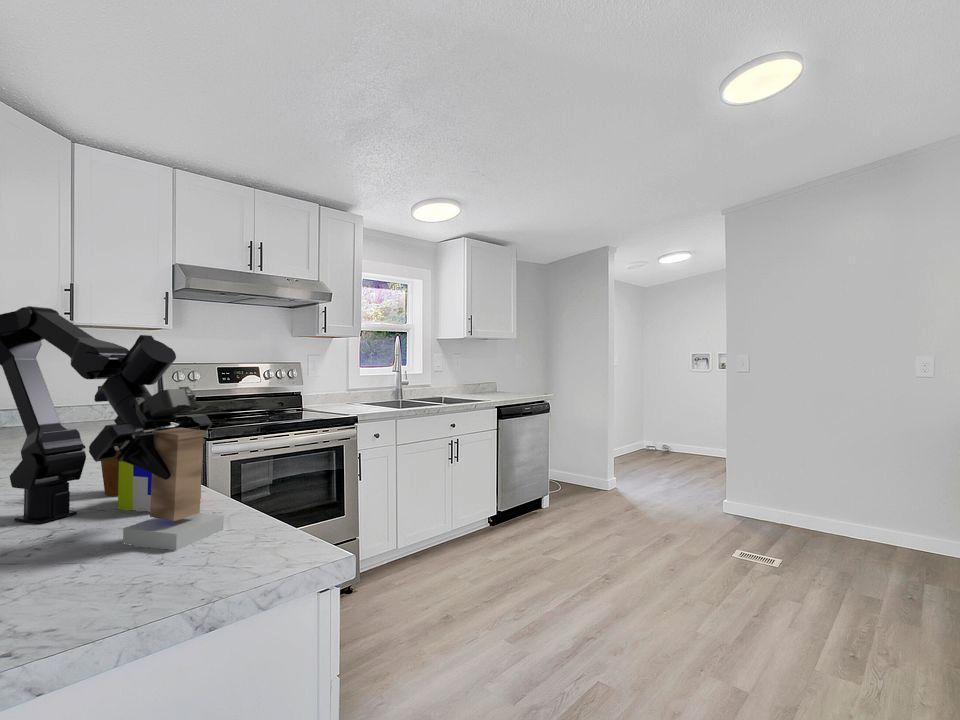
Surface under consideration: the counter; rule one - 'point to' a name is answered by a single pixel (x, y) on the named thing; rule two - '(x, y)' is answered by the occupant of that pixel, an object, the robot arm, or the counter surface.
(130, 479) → the puzzle toy
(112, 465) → the disposable coffee cup
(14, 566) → the counter surface
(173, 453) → the walnut canister
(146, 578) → the counter surface
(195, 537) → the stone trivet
